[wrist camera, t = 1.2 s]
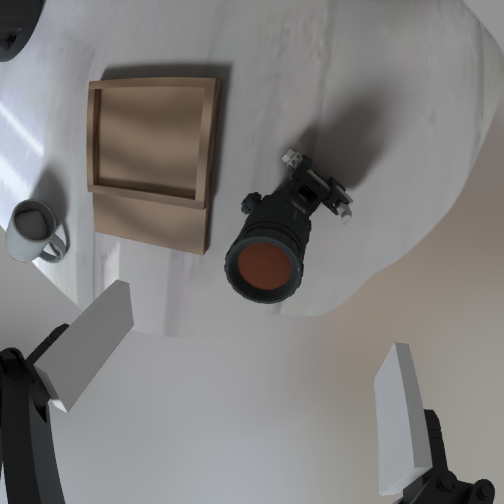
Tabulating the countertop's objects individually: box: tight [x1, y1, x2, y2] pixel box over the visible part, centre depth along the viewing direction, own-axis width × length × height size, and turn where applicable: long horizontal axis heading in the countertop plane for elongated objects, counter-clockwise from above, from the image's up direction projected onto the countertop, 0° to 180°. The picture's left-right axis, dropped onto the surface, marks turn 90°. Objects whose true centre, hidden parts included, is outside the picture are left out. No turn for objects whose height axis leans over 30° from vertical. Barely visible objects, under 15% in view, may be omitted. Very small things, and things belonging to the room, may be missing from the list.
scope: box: [224, 148, 353, 304], centre depth 27 cm, size 8×14×10 cm
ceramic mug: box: [5, 199, 66, 263], centre depth 39 cm, size 11×8×8 cm
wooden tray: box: [87, 77, 222, 255], centre depth 33 cm, size 20×16×2 cm
